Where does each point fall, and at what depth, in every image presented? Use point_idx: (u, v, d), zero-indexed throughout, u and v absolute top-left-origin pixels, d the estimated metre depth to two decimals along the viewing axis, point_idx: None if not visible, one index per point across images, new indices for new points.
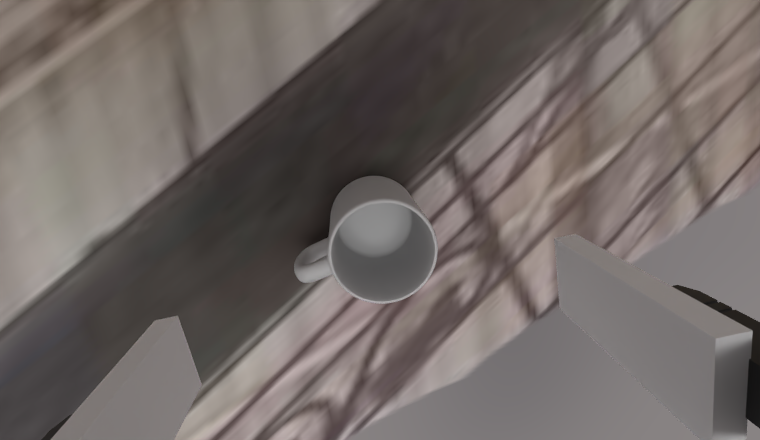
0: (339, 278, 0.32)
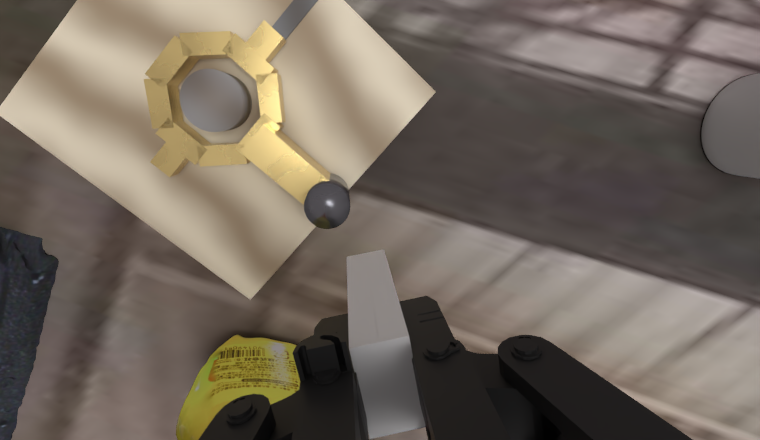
0: None
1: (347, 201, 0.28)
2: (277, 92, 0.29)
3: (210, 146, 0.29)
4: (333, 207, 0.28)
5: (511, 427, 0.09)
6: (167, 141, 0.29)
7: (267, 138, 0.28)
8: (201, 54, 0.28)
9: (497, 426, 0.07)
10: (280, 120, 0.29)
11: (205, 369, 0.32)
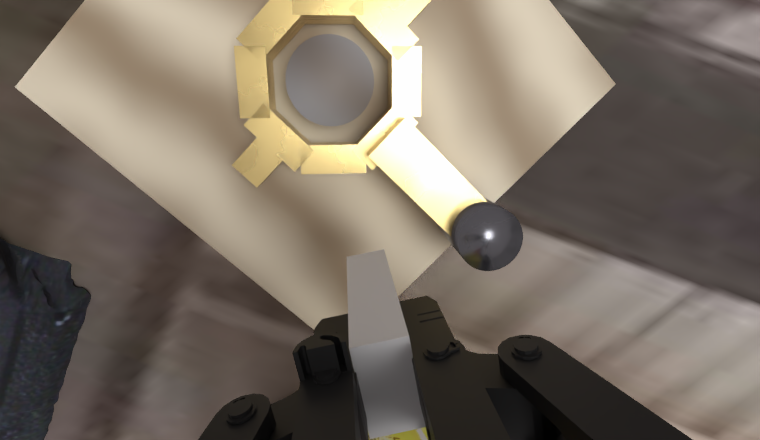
0: None
1: (519, 233, 0.19)
2: (419, 73, 0.20)
3: (318, 146, 0.21)
4: (499, 241, 0.19)
5: (511, 427, 0.09)
6: (259, 137, 0.20)
7: (409, 138, 0.19)
8: (318, 14, 0.19)
9: (497, 426, 0.07)
10: (419, 113, 0.21)
11: None
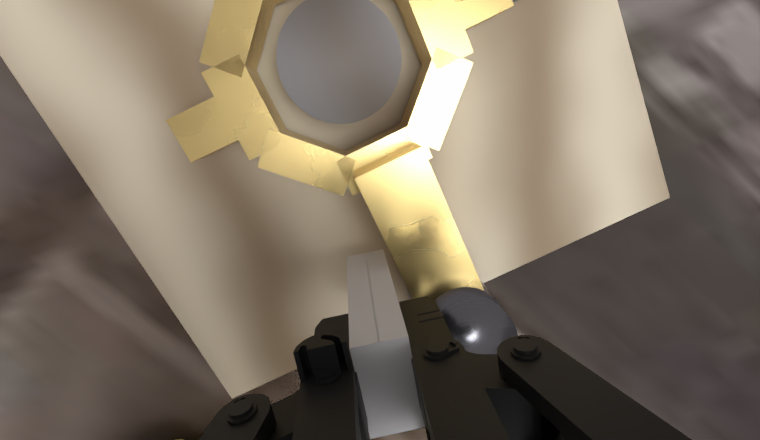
0: None
1: None
2: (457, 96, 0.15)
3: (293, 139, 0.15)
4: (483, 350, 0.14)
5: (510, 427, 0.09)
6: (217, 97, 0.14)
7: (417, 175, 0.14)
8: None
9: (496, 426, 0.07)
10: (438, 146, 0.15)
11: None
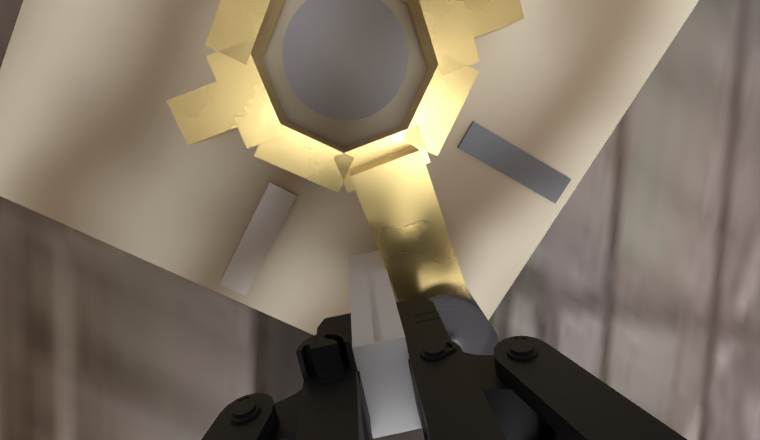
0: None
1: None
2: (460, 103, 0.15)
3: (292, 131, 0.15)
4: None
5: (506, 428, 0.09)
6: (220, 82, 0.14)
7: (413, 178, 0.14)
8: None
9: (493, 427, 0.07)
10: (437, 151, 0.15)
11: None
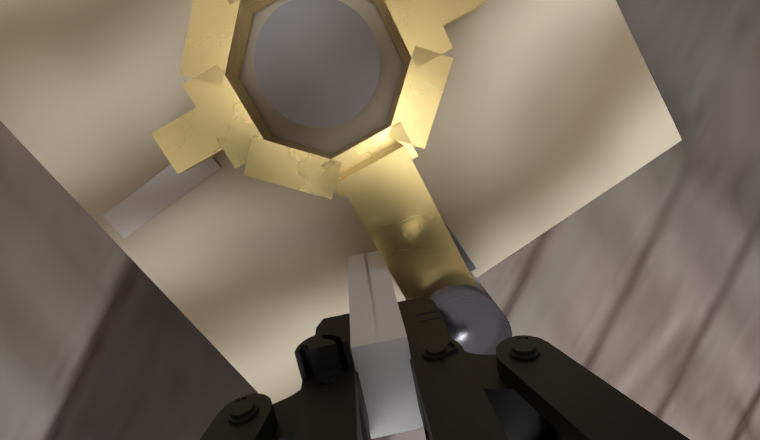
0: None
1: None
2: (439, 93, 0.15)
3: (277, 145, 0.15)
4: (478, 346, 0.14)
5: (509, 427, 0.09)
6: (199, 108, 0.14)
7: (401, 175, 0.14)
8: None
9: (495, 426, 0.07)
10: (423, 144, 0.15)
11: None
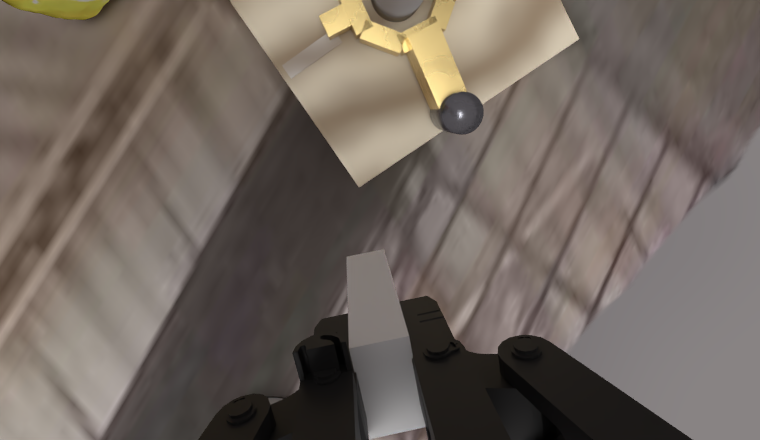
0: None
1: (481, 116, 0.31)
2: (453, 2, 0.32)
3: (377, 24, 0.32)
4: (467, 116, 0.31)
5: (511, 427, 0.09)
6: (343, 3, 0.31)
7: (435, 35, 0.31)
8: None
9: (497, 426, 0.07)
10: (445, 27, 0.32)
11: None
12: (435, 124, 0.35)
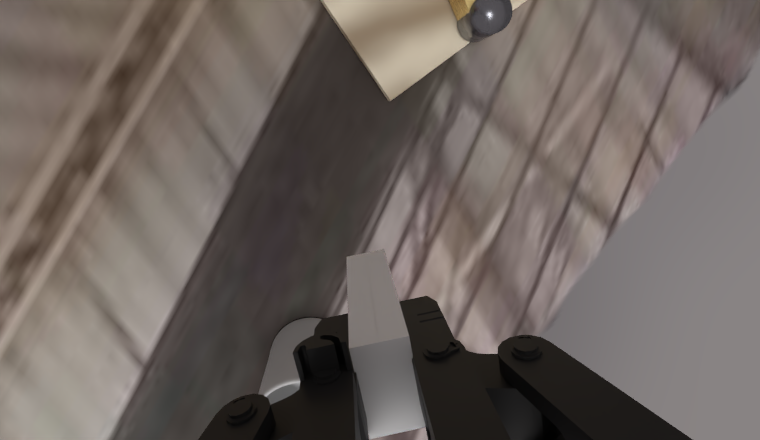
0: None
1: (510, 14, 0.33)
2: None
3: None
4: (497, 14, 0.33)
5: (511, 427, 0.09)
6: None
7: None
8: None
9: (497, 426, 0.07)
10: None
11: None
12: (463, 33, 0.37)
